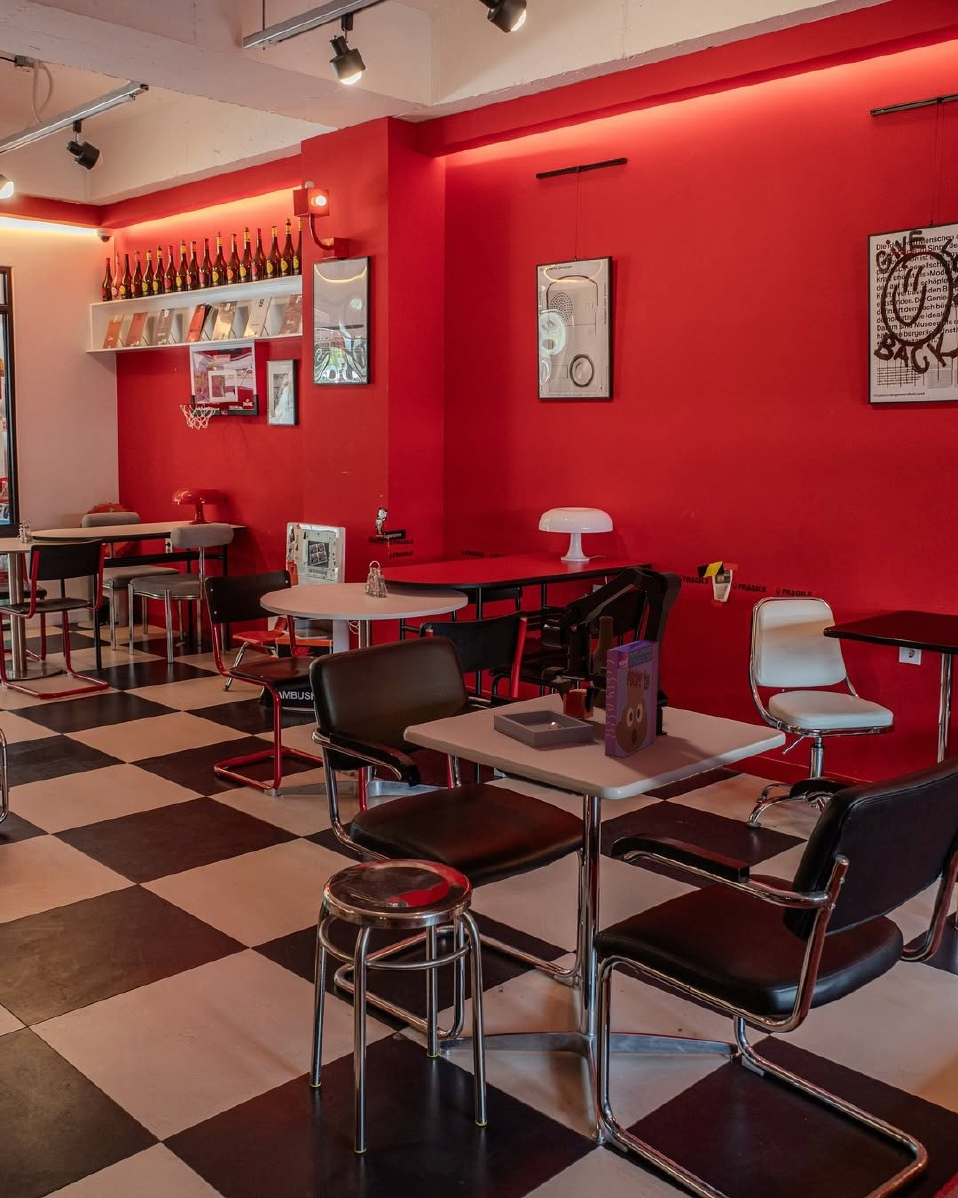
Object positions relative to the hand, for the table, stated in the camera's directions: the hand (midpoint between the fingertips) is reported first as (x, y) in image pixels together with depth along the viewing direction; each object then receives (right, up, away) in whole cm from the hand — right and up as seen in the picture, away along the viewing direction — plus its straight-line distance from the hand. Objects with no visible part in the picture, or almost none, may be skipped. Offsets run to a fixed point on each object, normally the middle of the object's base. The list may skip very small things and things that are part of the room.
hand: (578, 710), depth 285 cm
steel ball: (-7, -2, -18) cm, 20 cm away
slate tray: (-10, -4, -15) cm, 18 cm away
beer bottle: (+9, -1, +19) cm, 21 cm away
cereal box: (+10, -6, -27) cm, 29 cm away
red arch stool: (0, -2, 0) cm, 2 cm away
